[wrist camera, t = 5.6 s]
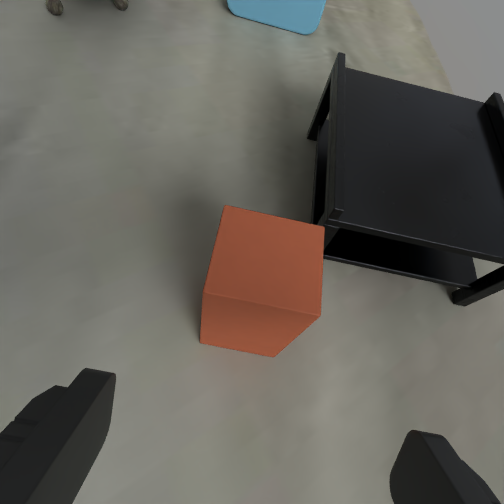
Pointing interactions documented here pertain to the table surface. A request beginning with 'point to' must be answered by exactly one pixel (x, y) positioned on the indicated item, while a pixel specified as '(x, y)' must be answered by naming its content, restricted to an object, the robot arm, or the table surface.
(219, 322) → the block
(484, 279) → the tray
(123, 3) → the tabletop clock
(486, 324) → the table surface
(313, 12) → the data package
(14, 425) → the robot arm
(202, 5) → the table surface
